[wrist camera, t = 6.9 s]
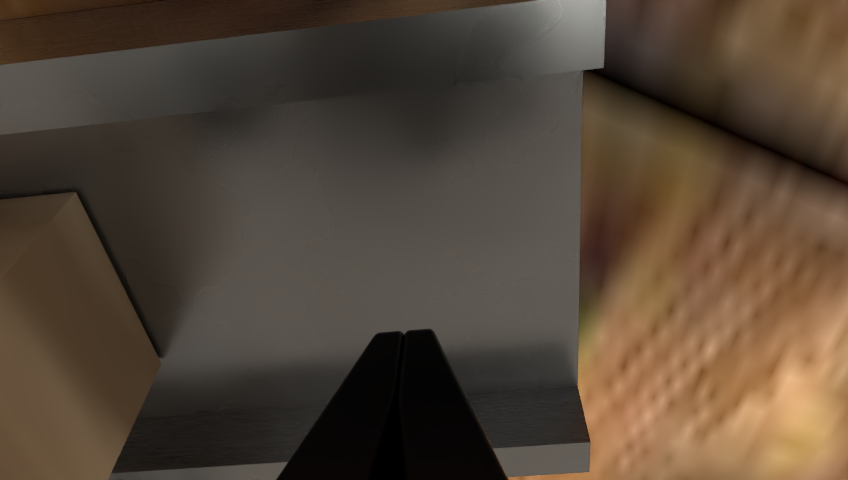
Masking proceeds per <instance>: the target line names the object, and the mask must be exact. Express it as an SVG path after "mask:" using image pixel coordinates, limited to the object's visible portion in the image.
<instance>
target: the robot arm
mask: <svg viewBox="0 0 848 480" xmlns="http://www.w3.org/2000/svg"><path fill="white" fill-rule="evenodd" d="M276 480H508V478H507V476H506V474H505V472H504V470H503V468H502V466H501V464H500V462H499V460H498V458H497V456H496V454H495V452H494V450H493V448H492V446H491V444H490V442H489V440H488V438H487V436H486V434H485V432H484V430H483V428H482V426H481V424H480V422H479V420H478V418H477V416H476V414H475V412H474V410H473V408H472V406H471V404H470V402H469V400H468V398H467V396H466V394H465V392H464V390H463V388H462V386H461V384H460V382H459V380H458V378H457V376H456V374H455V372H454V370H453V368H452V366H451V364H450V362H449V360H448V358H447V356H446V354H445V352H444V350H443V348H442V346H441V344H440V342H439V340H438V338H437V336H436V334H435V332H434V331H433V330H432V329H417V330H408V331H407V332H406V333H405V334H404V333H403V332H401V331H391V332H379V333H377V334H375V335H374V337H373V338H372V339H371V341H370V342H369V344H368V345H367V347H366V348H365V350H364V351H363V353H362V354H361V356H360V357H359V358H358V360H357V361H356V363H355V364H354V366H353V367H352V369H351V370H350V372H349V373H348V375H347V376H346V378H345V379H344V381H343V382H342V383H341V385H340V386H339V388H338V389H337V391H336V392H335V394H334V395H333V397H332V398H331V400H330V401H329V403H328V404H327V406H326V407H325V408H324V410H323V411H322V413H321V414H320V416H319V417H318V419H317V420H316V422H315V423H314V425H313V426H312V428H311V429H310V430H309V432H308V433H307V435H306V436H305V438H304V439H303V441H302V442H301V444H300V445H299V447H298V448H297V450H296V451H295V453H294V454H293V455H292V457H291V458H290V460H289V461H288V463H287V464H286V466H285V467H284V469H283V470H282V472H281V473H280V475H279V476H278V478H277V479H276Z"/></svg>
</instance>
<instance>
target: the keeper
mask: <svg viewBox="0 0 848 480" xmlns="http://www.w3.org/2000/svg"><path fill="white" fill-rule="evenodd" d="M160 366H161V362H160V360H159V358H158V356H157V354H156V352H155V350H154V348H153V346H152V344H151V342H150V340H149V338H148V336H147V334H146V332H145V330H144V328H143V326H142V324H141V322H140V320H139V318H138V316H137V314H136V312H135V310H134V308H133V306H132V304H131V302H130V300H129V298H128V296H127V294H126V292H125V290H124V288H123V286H122V284H121V282H120V280H119V278H118V276H117V274H116V272H115V270H114V268H113V266H112V264H111V262H110V260H109V258H108V256H107V254H106V252H105V250H104V248H103V246H102V244H101V242H100V240H99V238H98V236H97V234H96V232H95V230H94V228H93V226H92V224H91V222H90V220H89V217H88V215H87V213H86V211H85V209H84V207H83V205H82V203H81V201H80V199H79V197H78V195H77V193H76V192H70V193H60V194H50V195H40V196H31V197H21V198H11V199H1V200H0V480H108V479H109V476H110V474H111V472H112V470H113V468H114V466H115V463H116V461H117V459H118V457H119V455H120V453H121V450H122V448H123V446H124V444H125V442H126V440H127V437H128V435H129V433H130V431H131V429H132V427H133V424H134V422H135V420H136V418H137V416H138V414H139V411H140V409H141V407H142V405H143V403H144V401H145V399H146V396H147V394H148V392H149V390H150V388H151V386H152V383H153V381H154V379H155V377H156V375H157V373H158V370H159V368H160Z"/></svg>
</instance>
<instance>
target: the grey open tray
mask: <svg viewBox="0 0 848 480" xmlns="http://www.w3.org/2000/svg"><path fill="white" fill-rule="evenodd" d="M605 19H606V0H163V1H155V2H148V3H140V4H132V5H124V6H116V7H108V8H100V9H92V10H84V11H76V12H68V13H60V14H52V15H45V16H37V17H29V18H21V19H13V20H5V21H0V200H1V199H11V198H21V197H31V196H40V195H50V194H60V193H70V192H76V193H77V195H78V197H79V199H80V201H81V203H82V205H83V207H84V209H85V211H86V213H87V215H88V217H89V220H90V222H91V224H92V226H93V228H94V230H95V232H96V234H97V236H98V238H99V240H100V242H101V244H102V246H103V248H104V250H105V252H106V254H107V256H108V258H109V260H110V262H111V264H112V266H113V268H114V270H115V272H116V274H117V276H118V278H119V280H120V282H121V284H122V286H123V288H124V290H125V292H126V294H127V296H128V298H129V300H130V302H131V304H132V306H133V308H134V310H135V312H136V314H137V316H138V318H139V320H140V322H141V324H142V326H143V328H144V330H145V332H146V334H147V336H148V338H149V340H150V342H151V344H152V346H153V348H154V350H155V352H156V354H157V356H158V358H159V360H160V362H161V366H160V368H159V370H158V373H157V375H156V377H155V379H154V381H153V383H152V386H151V388H150V390H149V392H148V394H147V396H146V399H145V401H144V403H143V405H142V407H141V409H140V411H139V414H138V416H137V418H136V420H135V422H134V424H133V427H132V429H131V431H130V433H129V435H128V437H127V440H126V442H125V444H124V446H123V448H122V450H121V453H120V455H119V457H118V459H117V461H116V463H115V466H114V468H113V470H112V472H111V474H110V476H109V479H108V480H276V479H277V478H278V476H279V475H280V473H281V472H282V470H283V469H284V467H285V466H286V464H287V463H288V461H289V460H290V458H291V457H292V455H293V454H294V453H295V451H296V450H297V448H298V447H299V445H300V444H301V442H302V441H303V439H304V438H305V436H306V435H307V433H308V432H309V430H310V429H311V428H312V426H313V425H314V423H315V422H316V420H317V419H318V417H319V416H320V414H321V413H322V411H323V410H324V408H325V407H326V406H327V404H328V403H329V401H330V400H331V398H332V397H333V395H334V394H335V392H336V391H337V389H338V388H339V386H340V385H341V383H342V382H343V381H344V379H345V378H346V376H347V375H348V373H349V372H350V370H351V369H352V367H353V366H354V364H355V363H356V361H357V360H358V358H359V357H360V356H361V354H362V353H363V351H364V350H365V348H366V347H367V345H368V344H369V342H370V341H371V339H372V338H373V337H374V335H375V334H377V333H379V332H391V331H401V332H403V333H404V334H405V333H406V332H407V331H408V330H417V329H432V330H433V331H434V332H435V334H436V336H437V338H438V340H439V342H440V344H441V346H442V348H443V350H444V352H445V354H446V356H447V358H448V360H449V362H450V364H451V366H452V368H453V370H454V372H455V374H456V376H457V378H458V380H459V382H460V384H461V386H462V388H463V390H464V392H465V394H466V396H467V398H468V400H469V402H470V404H471V406H472V408H473V410H474V412H475V414H476V416H477V418H478V420H479V422H480V424H481V426H482V428H483V430H484V432H485V434H486V436H487V438H488V440H489V442H490V444H491V446H492V448H493V450H494V452H495V454H496V456H497V458H498V460H499V462H500V464H501V466H502V468H503V470H504V472H505V474H506V476H507V477H515V476H531V475H547V474H564V473H580V472H589V468H590V438H589V434H588V430H587V425H586V421H585V417H584V412H583V408H582V404H581V399H580V395H579V391H578V332H579V273H580V213H581V154H582V94H583V70H589V69H598V68H604V47H605Z"/></svg>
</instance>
